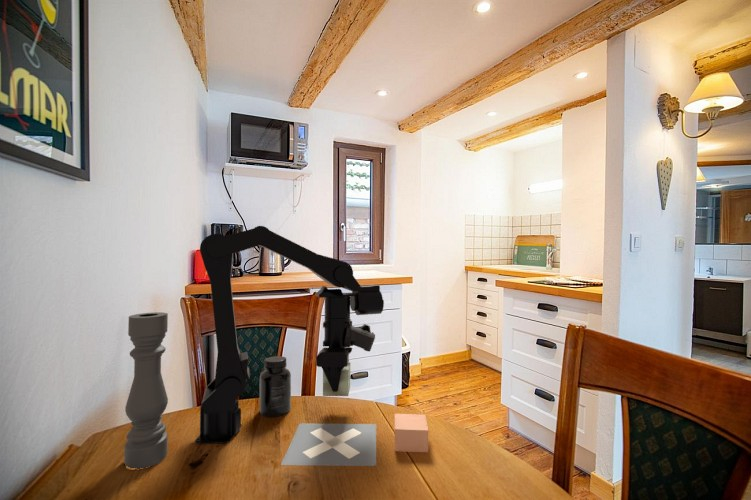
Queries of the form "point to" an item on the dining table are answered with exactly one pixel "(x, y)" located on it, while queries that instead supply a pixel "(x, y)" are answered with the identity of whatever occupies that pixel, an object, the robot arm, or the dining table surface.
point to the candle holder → (146, 392)
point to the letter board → (333, 445)
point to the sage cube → (343, 384)
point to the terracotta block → (411, 433)
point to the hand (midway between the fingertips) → (336, 386)
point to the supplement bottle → (275, 387)
